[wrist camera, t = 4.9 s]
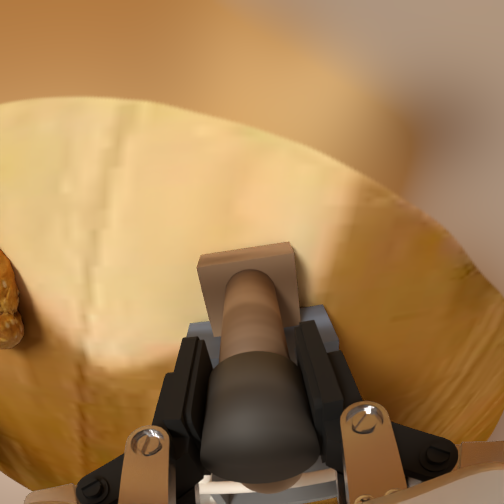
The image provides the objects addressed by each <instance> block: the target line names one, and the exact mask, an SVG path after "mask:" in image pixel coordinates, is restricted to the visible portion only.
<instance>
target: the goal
mask: <svg viewBox="0 0 504 504" xmlns="http://www.w3.org/2000/svg"><path fill="white" fill-rule="evenodd" d="M198 483H199V493H200V494H210V495H211V496H212V498H213V499H214V500H215V502H216V503H217V504H302V503H308V502H314V501H319V500H325V499H329V498H334V497H337V488H336V476H335V470H334V469H332V468H330V467H328V466H326V464H325V463H322V460H321V455H320V456H319V458H318V460H317V461H316V463H315V464H314V465H313V466H312V467H310V468H309V469H308V470H306V471H305V472H303V474H302V476H301V478H300V479H299V480H298V481H297V482H296V483H295V484H294V485H293V486H292V487H290V488H288V489H287V490H284V491H282V492H278V493H273V494H263V493H258V492H255V491H252V490H250V489H248V488H246V487H245V486H244V485H242V484H241V483H239V482H233V481H229V480H226V479H223V478H220V477H218V476H216V475H214V474H212V473H211V475H204V479H202V480H201V481H200V482H198Z"/></svg>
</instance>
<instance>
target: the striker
mask: <svg viewBox="0 0 504 504" xmlns="http://www.w3.org/2000/svg"><path fill="white" fill-rule="evenodd" d="M197 272H198V276H199V280H200V284H201V288H202V292H203V297H204V301H205V305H206V309H207V313H208V316H209V320H210V321H207V322H198V323H190V325H189V329H188V333H187V337H195V336H198V337H199V339H200V340H203V339H204V341H205V343H206V346H207V350H208V353H209V357H210V360H211V363H212V366H213V370H212V372H211V374H210V376H209V379H208V386H207V395H206V404H205V413H204V422H203V431H202V441H201V451H200V461H201V463H202V465H203V466H204V467H205V468H206V469H207V470H208V471H209V472H211V473H212V474H214V475H216V476H218V477H220V478H223V479H226V480H229V481H233V482H239V483H241V484H242V485H244V486H245V487H246V488H248V489H250V490H252V491H255V492H258V493H263V494H273V493H278V492H282V491H284V490H287V489H288V488H290V487H292V486H293V485H294V484H295V483H296V482H297V481H298V480H299V479H300V478H301V476H302V474H303V472H305V471H306V470H308V469H309V468H310V467H312V466H313V465H314V464H315V463H316V461H317V460H318V458H319V455H320V447H319V443H318V439H317V434H316V431H315V427H314V423H313V418H312V414H311V410H310V405H309V401H308V397H307V393H306V389H305V384H304V380H303V376H302V373H301V371H300V369H299V367H298V365H297V354H296V343H295V333H294V327H297V326H299V322H303V321H309V320H315V323H316V325H317V328H318V331H319V333H320V336H321V339H322V341H323V344H324V347H325V349H326V352H327V353H328V352H333V351H338V350H339V339H338V337H337V335H336V332H335V330H334V328H333V326H332V324H331V321H330V319H329V317H328V315H327V313H326V311H325V308H324V306H323V304H322V305H316V306H310V307H305V308H299V298H298V287H297V276H296V266H295V257H294V252H293V249H292V247H291V245H290V243H289V242H284V243H277V244H271V245H264V246H257V247H251V248H244V249H237V250H231V251H224V252H218V253H211V254H204V255H201V256H200V259H199V262H198V265H197Z"/></svg>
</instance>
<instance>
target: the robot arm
mask: <svg viewBox="0 0 504 504" xmlns="http://www.w3.org/2000/svg"><path fill="white" fill-rule="evenodd" d="M294 333H295V343H296V354H297V365H298V367H299V369H300V371H301V373H302V376H303V380H304V384H305V389H306V393H307V397H308V401H309V405H310V410H311V414H312V418H313V423H314V427H315V431H316V434H317V439H318V443H319V447H320V455H321V460H322V463H325V464H326V466H328V467H330V468H332V469H334V470H335V476H336V488H337V502H338V504H504V441H489V442H462V443H461V445H455V444H453V443H452V442H451V441H450V440H448V439H445V438H442V437H439V436H435V435H432V434H428V433H425V432H422V431H419V430H415V429H412V428H409V427H406V426H403V425H400V424H397V423H394V422H391V421H390V418H389V415H388V413H387V411H386V409H385V408H384V407H383V406H382V405H380V404H378V403H376V402H371V401H363V400H362V398H361V396H360V393H359V391H358V388H357V386H356V384H355V381H354V379H353V376H352V374H351V372H350V369H349V367H348V365H347V362H346V360H345V358H344V355H343V353H342V351H341V350H338V351H333V352H328V353H327V352H326V349H325V347H324V344H323V341H322V339H321V336H320V333H319V331H318V328H317V325H316V323H315V320H309V321H303V322H299V326H297V327H294ZM212 370H213V366H212V363H211V360H210V357H209V353H208V350H207V346H206V343H205V341H204V339H203V340H200V339H199V337H198V336H195V337H185V338H183V339H182V343H181V346H180V350H179V354H178V358H177V361H176V365H175V369H174V372H172V373H167V374H166V375H165V378H164V381H163V385H162V389H161V392H160V396H159V400H158V403H157V407H156V411H155V415H154V418H153V422H152V425H148V426H143V427H140V428H138V429H136V430H135V431H134V432H132V433H131V434H130V436H129V437H128V439H127V442H126V447H125V453H124V454H122V455H120V456H119V457H117V458H115V459H114V460H112V461H110V462H109V463H107V464H105V465H104V466H102V467H100V468H98V469H97V470H95V471H93V472H91V473H90V474H88V475H86V476H85V477H83V478H82V479H81V480H80V481H79V482H78V484H77V485H74V484H73V483H71V484H67V485H63V486H58V487H54V488H49V489H44V490H38V491H34V492H31V493H29V494H28V495H27V496H26V499H25V500H24V504H217V503H216V502H215V500H214V499H213V498H212V496H211V495H210V494H200V493H199V483H198V482H200V481H201V480H202V479H204V475H211V472H209V471H208V470H207V469H206V468H205V467H204V466H203V465H202V463H201V461H200V451H201V441H202V431H203V422H204V413H205V404H206V395H207V386H208V379H209V376H210V374H211V372H212ZM320 455H319V456H320Z"/></svg>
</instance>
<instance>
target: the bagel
mask: <svg viewBox="0 0 504 504" xmlns="http://www.w3.org/2000/svg"><path fill="white" fill-rule="evenodd" d="M14 277H15V274H14V272H13V269H12V267H11V264H10V261H9V259H8V258H7V257H6V255H4V254H3V252H2V251H1V250H0V349H11V348H12V347H14V346H15V345H16V344H18V343H19V342H20V341H21V339H22V337H23V335H24V325H23V323H22V320H21V315H20V313H19V312H18V311H17V307H18V303H19V298H18V295H19V290H18V288H17V285H16V282H15V278H14Z"/></svg>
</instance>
